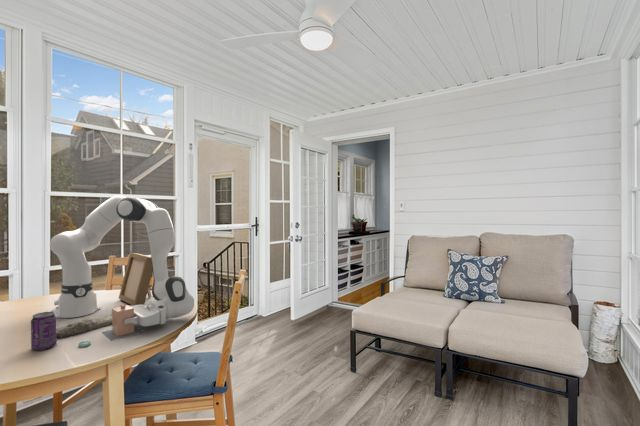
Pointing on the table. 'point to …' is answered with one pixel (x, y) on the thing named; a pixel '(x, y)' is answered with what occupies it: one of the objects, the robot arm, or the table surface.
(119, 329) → the peach block with knob
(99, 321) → the long grey stone
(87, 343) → the teal flattened ovoid
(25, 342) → the table surface
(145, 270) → the photo frame
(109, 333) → the mat
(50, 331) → the beverage can
